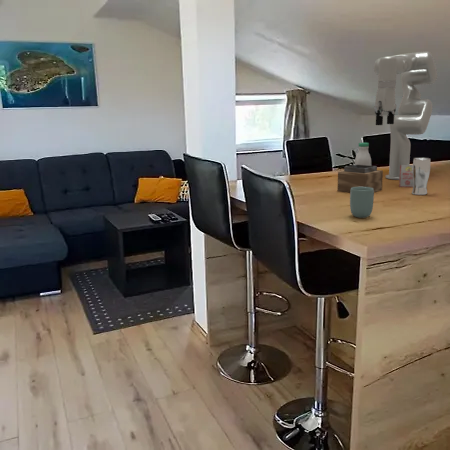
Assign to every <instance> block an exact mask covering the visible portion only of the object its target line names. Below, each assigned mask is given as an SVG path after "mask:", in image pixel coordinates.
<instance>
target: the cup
mask: <svg viewBox="0 0 450 450" xmlns="http://www.w3.org/2000/svg"><path fill="white" fill-rule="evenodd" d="M374 195H375V192H374V189H373V188H371V187H352V188H351V190H350V194H349V206H350V208H349V210H350V213H351V215H352V216H353V217H354V218H361V219H366V218H368V217H371V215H372V212H373V207H374V199H375V197H374Z"/></svg>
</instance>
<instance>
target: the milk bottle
mask: <svg viewBox="0 0 450 450" xmlns="http://www.w3.org/2000/svg"><path fill="white" fill-rule="evenodd" d="M369 146H370V143H369V142H359V143H358V151H357V153H356V156H355V159H354V165H369V166H372V158H371V154H370V153H369V148H370V147H369Z"/></svg>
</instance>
